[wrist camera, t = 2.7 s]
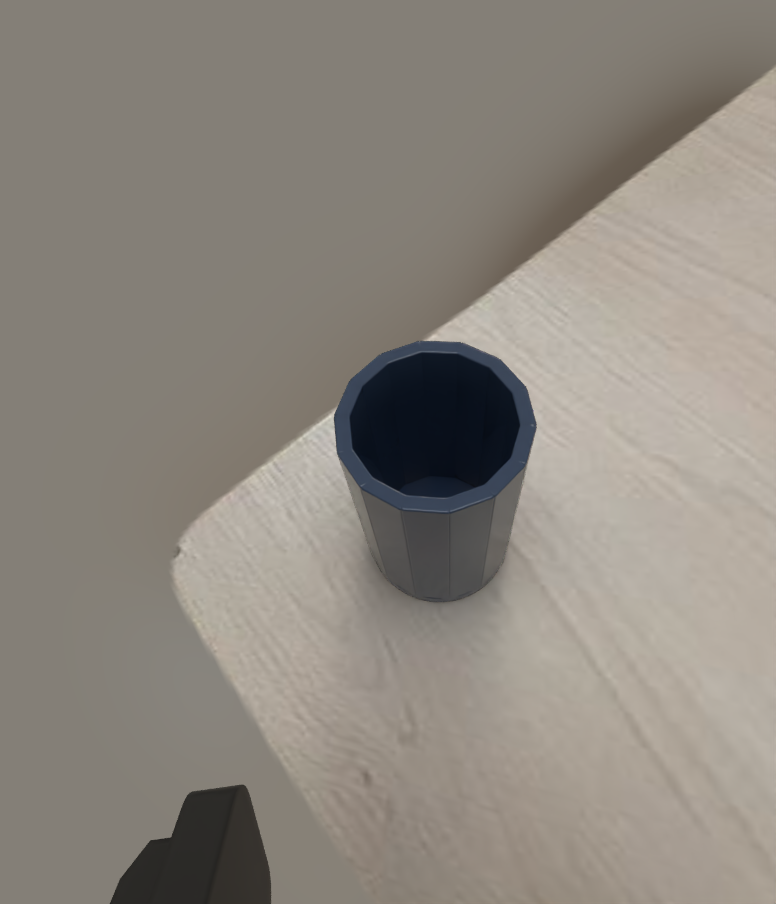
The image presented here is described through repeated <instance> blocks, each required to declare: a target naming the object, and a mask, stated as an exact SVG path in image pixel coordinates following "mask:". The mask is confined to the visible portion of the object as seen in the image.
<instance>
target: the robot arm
mask: <svg viewBox="0 0 776 904" xmlns="http://www.w3.org/2000/svg"><path fill="white" fill-rule="evenodd" d="M110 904H271V880H270V871H269V866H268V861H267V857H266V854H265V850H264V846H263V843H262V839H261V835H260V831H259V828H258V824H257V820H256V817H255V813H254V809H253V806H252V802H251V798H250V795H249V792H248V790H247V788H246V786H244V785H236V786H229V787H222V788H216V789H208V790H201V791H194V792H191V793H189V794H188V795H187V797H186V799H185V801H184V803H183V806H182V808H181V811H180V814H179V817H178V820H177V822H176V825H175V828H174V831H173V834H172V837H171V838H165V839H158V840H151V841H150V842H149V843H148V844H147V845H146V847H145V848H144V849H143V851H142V852H141V853H140V854H139V856H138V857H137V858H136V860H135V861H134V862H133V863H132V865H131V866H130V867H129V868H128V870H127V871H126V872H125V874H124V875H123V876H122V877H121V879H120V881H119V883H118V886H117V888H116V890H115V893H114V895H113V897H112V900H111V902H110Z"/></svg>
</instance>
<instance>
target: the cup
mask: <svg viewBox="0 0 776 904" xmlns="http://www.w3.org/2000/svg"><path fill="white" fill-rule="evenodd" d="M334 424H335V436H336V448H337V455H338V457H339V460H340V463H341V466H342V469H343V472H344V475H345V478H346V481H347V484H348V487H349V490H350V493H351V496H352V499H353V502H354V504H355V507H356V510H357V513H358V516H359V519H360V522H361V525H362V528H363V531H364V534H365V537H366V540H367V543H368V546H369V549H370V551H371V554H372V556H373V558H374V559H375V561H376V563H377V565H378V567H379V569H380V571H381V572H382V573H383V575H384V576H385V577H386V578H387V579H388V580H389V581H390V583H391V584H393V585H394V586H395V587H396V588H398V589H399V590H401V591H402V592H404V593H406V594H407V595H410V596H412V597H415V598H417V599H421V600H425V601H432V602H447V601H454V600H458V599H462V598H464V597H467V596H469V595H471V594H473V593H475V592H477V591H478V590H480V589H481V588H482V587H484V586H485V585H486V584H487V583H488V582H489V581H490V580H491V579H492V578H493V577H494V575H495V574H496V573H497V571H498V570H499V568H500V566H501V565H502V563H503V561H504V557H505V553H506V549H507V546H508V542H509V538H510V535H511V531H512V526H513V522H514V518H515V514H516V510H517V506H518V502H519V498H520V494H521V490H522V486H523V482H524V477H525V473H526V469H527V465H528V461H529V457H530V453H531V449H532V445H533V441H534V437H535V433H536V428H537V427H536V425H537V424H536V420H535V416H534V413H533V409H532V405H531V401H530V398H529V394H528V390H527V388H526V386H525V385H524V384H523V383H522V382H521V381H520V380H519V379H518V378H517V377H516V376H515V375H514V373H513V372H512V371H511V370H510V369H509V368H508V367H507V366H506V365H505V364H504V363H503V362H502V361H501V359H499V358H497V357H495V356H493V355H490V354H488V353H486V352H483V351H481V350H479V349H476V348H474V347H472V346H469V345H467V344H465V343H461V342H442V341H420V342H419V341H417V342H414V343H411V344H408V345H405V346H402V347H399V348H397V349H393V350H390V351H387V352H384V353H382V354H381V355H378V356H377V357H376V358H375V359H374V360H373V361H372V362H370V363H369V364H368V365H367V366H366V367H364V368H363V369H362V370H361V371H360V372H359V373H357V374H356V375H355V376H354V377H353V378H352V379H351V380H350V381H349V383H348V385H347V387H346V390H345V392H344V394H343V396H342V399H341V401H340V403H339V405H338V408H337V410H336V412H335V414H334Z"/></svg>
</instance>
